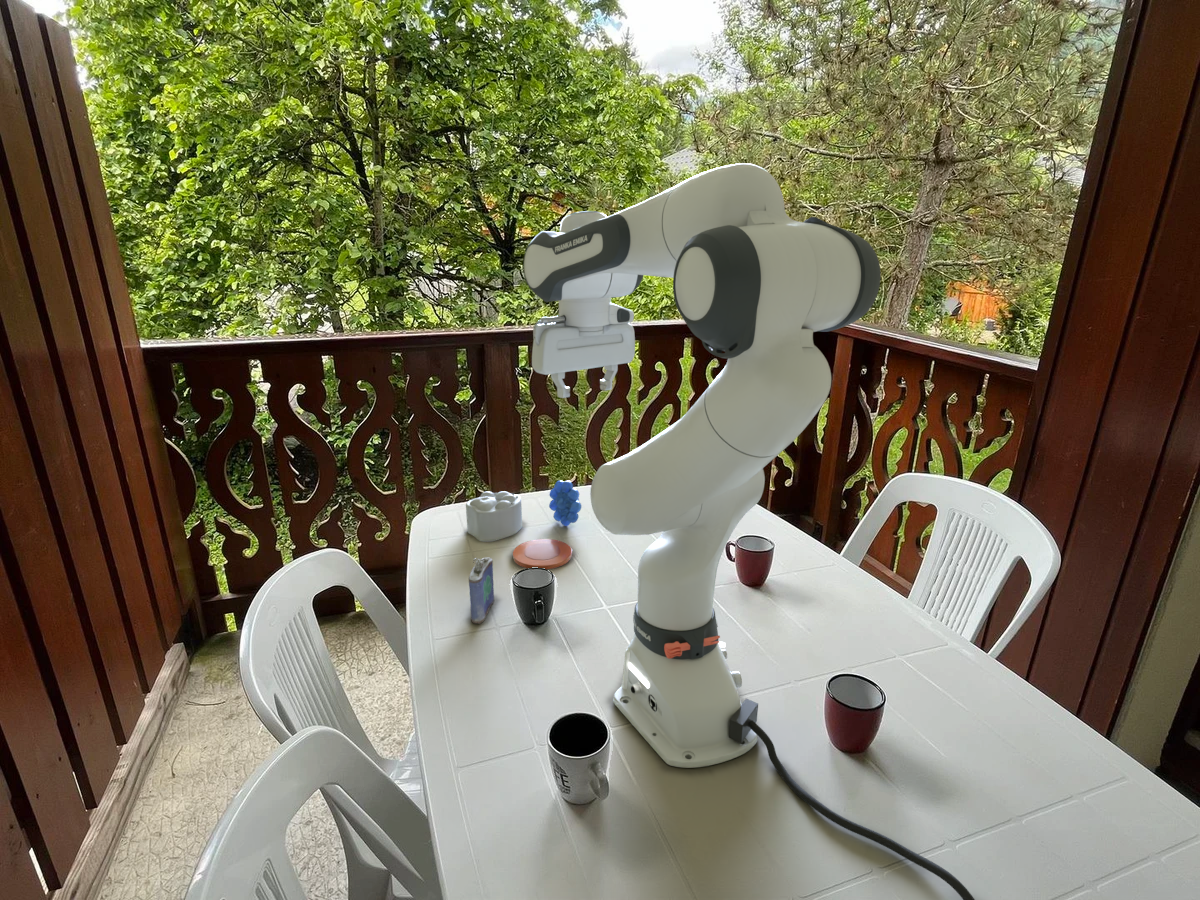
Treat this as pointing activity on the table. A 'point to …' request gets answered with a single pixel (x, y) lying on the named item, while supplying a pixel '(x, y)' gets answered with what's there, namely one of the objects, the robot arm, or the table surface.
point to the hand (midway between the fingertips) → (585, 393)
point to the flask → (481, 589)
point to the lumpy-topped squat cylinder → (494, 515)
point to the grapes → (565, 502)
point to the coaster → (542, 553)
